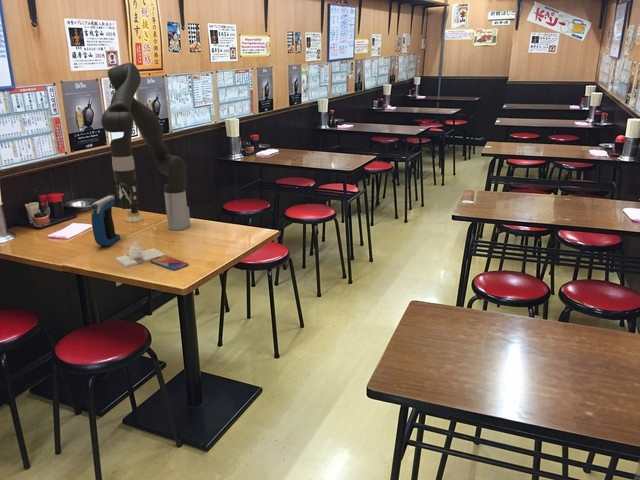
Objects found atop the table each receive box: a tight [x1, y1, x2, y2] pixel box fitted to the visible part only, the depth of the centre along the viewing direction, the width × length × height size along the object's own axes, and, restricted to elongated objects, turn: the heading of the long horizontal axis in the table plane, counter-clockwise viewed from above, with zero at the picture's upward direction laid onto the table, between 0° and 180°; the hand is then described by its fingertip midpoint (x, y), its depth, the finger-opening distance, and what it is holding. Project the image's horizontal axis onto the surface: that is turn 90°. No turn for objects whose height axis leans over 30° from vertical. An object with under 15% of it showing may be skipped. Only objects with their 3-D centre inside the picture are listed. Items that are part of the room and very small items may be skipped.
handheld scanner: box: [90, 193, 121, 247], centre depth 215 cm, size 5×16×20 cm, turn 174°
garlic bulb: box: [128, 241, 144, 259], centre depth 199 cm, size 6×6×5 cm
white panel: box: [114, 247, 167, 268], centre depth 201 cm, size 16×10×1 cm, turn 133°
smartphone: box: [149, 255, 190, 272], centre depth 196 cm, size 7×15×1 cm, turn 53°
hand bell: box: [125, 208, 144, 224], centre depth 247 cm, size 8×8×16 cm
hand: (129, 210), depth 194 cm, fingers open, 8 cm apart
